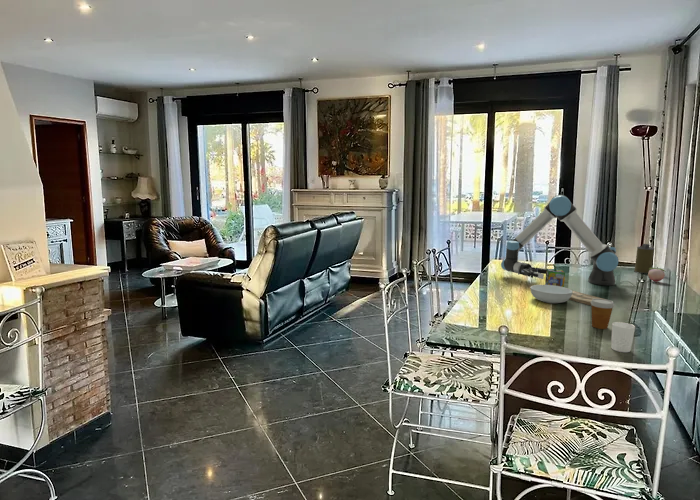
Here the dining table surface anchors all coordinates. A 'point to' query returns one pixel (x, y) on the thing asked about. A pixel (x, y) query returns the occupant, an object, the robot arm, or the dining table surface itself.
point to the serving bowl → (551, 293)
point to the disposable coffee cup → (601, 312)
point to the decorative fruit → (656, 274)
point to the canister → (644, 259)
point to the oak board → (583, 297)
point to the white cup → (622, 336)
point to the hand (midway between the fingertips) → (551, 275)
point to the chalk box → (555, 277)
